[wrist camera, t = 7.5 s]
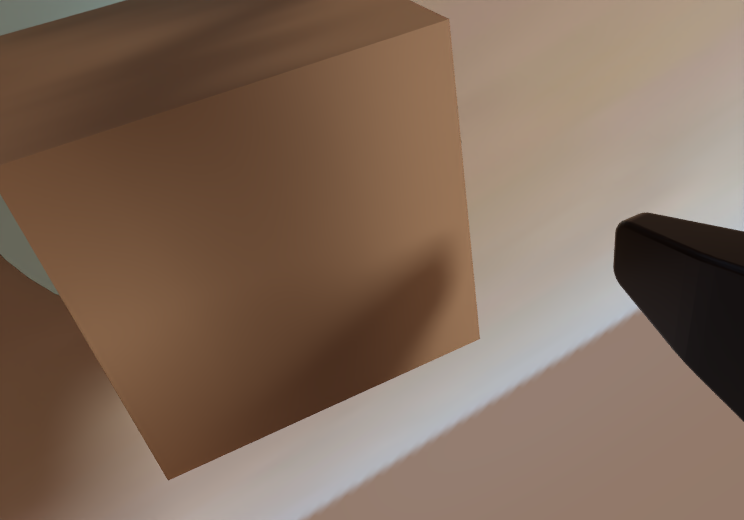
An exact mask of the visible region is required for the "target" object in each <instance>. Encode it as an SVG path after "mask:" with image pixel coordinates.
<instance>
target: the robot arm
mask: <svg viewBox="0 0 744 520" xmlns="http://www.w3.org/2000/svg"><path fill="white" fill-rule="evenodd" d="M613 267H614V274H615V276H616V279H617V281H618V282H619V284H620V285H621V287H622V288H623V289H624V290H625V292H626V293H627V294H628V295H629V296H630V298H631V299H632V300H633V301H634V302H635V304H636V305H637V306H638V307H639V309H640V310H641V311H642V312H643V313H644V315H645V316H646V317H647V318H648V320H649V321H650V322H651V323H652V324H653V326H654V327H655V328H656V329H657V330H658V332H659V333H660V334H661V335H662V337H663V338H664V339H665V340H666V341H667V343H668V344H669V345H670V346H671V348H672V349H673V350H674V351H675V352H676V353H677V354H678V356H680V358H681V359H682V360H683V361H684V362H685V363H686V365H687V366H689V368H690V369H691V370H692V371H693V372H694V373H695V374H696V375H697V376H698V377H699V378H700V379H701V380H702V381H703V382H704V383H705V384H706V385H707V386H708V387H709V388H710V389H711V390H712V391H713V392H714V393H715V394H716V395H717V396H718V397H719V398H720V399H721V400H722V401H723V402H724V403H725V404H727V406H728V407H729V408H731V410H733V412H735V413H736V415H738V416H739V417H740V418H741V419H742V420H743V421H744V231H738V230H733V229H728V228H723V227H718V226H713V225H708V224H703V223H698V222H693V221H688V220H683V219H678V218H673V217H668V216H663V215H658V214H652V213H640V214H638V215H635V216H633V217H631V218H628V219H626V220H624V221H622V222H621V223H619V224H618V226H617V228H616V232H615V248H614V265H613Z"/></svg>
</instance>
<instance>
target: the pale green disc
mask: <svg viewBox="0 0 744 520" xmlns="http://www.w3.org/2000/svg"><path fill="white" fill-rule="evenodd" d="M122 1H125V0H0V36H1V35H4V34H8V33H12V32H15V31H19V30H22V29H26V28H29V27H33V26H36V25H40V24H43V23H47V22H51V21H54V20H58V19H61V18H65V17H68V16H72V15H75V14H79V13H82V12H86V11H90V10H93V9H97V8H100V7H104V6H107V5H111V4H114V3H118V2H122ZM0 254H1V255H2V256H3V258H4V259H5V260H7V261H8V262H9V263H11V264H12V265H13V266H14V267H16V268H17V269H18V270H19V271H21V272H22V273H23V274H25V275H26V276H27V277H28V278H30V279H31V280H33V281H35V282H36V283H38V284H40V285H41V286H43V287H45V288H46V289H48V290H50V291H51V292H53V293H55V294H57V295H59V293H58V292H57V290H56V288H55V287H54V285H53V283H52V282H51V280H50V278H49V276H48V275H47V273H46V271H45V270H44V268H43V266H42V264H41V263H40V261H39V259H38V258H37V256H36V254H35V253H34V251H33V249H32V247H31V246H30V244H29V242H28V241H27V239H26V237H25V235H24V234H23V232H22V230H21V229H20V227H19V225H18V224H17V222H16V220H15V218H14V217H13V215H12V213H11V212H10V210H9V208H8V206H7V205H6V203H5V201H4V200H3V198H2V196H1V195H0ZM59 296H60V295H59Z"/></svg>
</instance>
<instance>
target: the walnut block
mask: <svg viewBox="0 0 744 520" xmlns="http://www.w3.org/2000/svg"><path fill="white" fill-rule="evenodd" d="M0 195H1V196H2V198H3V200H4V201H5V203H6V205H7V206H8V208H9V210H10V212H11V213H12V215H13V217H14V218H15V220H16V222H17V224H18V225H19V227H20V229H21V230H22V232H23V234H24V235H25V237H26V239H27V241H28V242H29V244H30V246H31V247H32V249H33V251H34V253H35V254H36V256H37V258H38V259H39V261H40V263H41V264H42V266H43V268H44V270H45V271H46V273H47V275H48V276H49V278H50V280H51V282H52V283H53V285H54V287H55V288H56V290H57V292H58V293H59V295H60V297H61V299H62V300H63V302H64V304H65V305H66V307H67V309H68V311H69V312H70V314H71V316H72V317H73V319H74V321H75V322H76V324H77V326H78V328H79V329H80V331H81V333H82V334H83V336H84V338H85V340H86V341H87V343H88V345H89V346H90V348H91V350H92V351H93V353H94V355H95V357H96V358H97V360H98V362H99V363H100V365H101V367H102V369H103V370H104V372H105V374H106V375H107V377H108V379H109V380H110V382H111V384H112V386H113V387H114V389H115V391H116V392H117V394H118V396H119V398H120V399H121V401H122V403H123V404H124V406H125V408H126V409H127V411H128V413H129V415H130V416H131V418H132V420H133V421H134V423H135V425H136V426H137V428H138V430H139V432H140V433H141V435H142V437H143V438H144V440H145V442H146V444H147V445H148V447H149V449H150V450H151V452H152V454H153V455H154V457H155V459H156V461H157V462H158V464H159V466H160V467H161V469H162V471H163V473H164V474H165V476H166V478H167V479H168V480H170V479H172V478H175V477H177V476H179V475H181V474H183V473H186V472H188V471H190V470H192V469H194V468H197V467H199V466H201V465H203V464H205V463H208V462H210V461H212V460H214V459H216V458H219V457H221V456H223V455H225V454H227V453H230V452H232V451H234V450H236V449H238V448H241V447H243V446H245V445H247V444H249V443H252V442H254V441H256V440H258V439H260V438H263V437H265V436H267V435H269V434H271V433H274V432H276V431H278V430H280V429H282V428H285V427H287V426H289V425H291V424H293V423H296V422H298V421H300V420H302V419H304V418H307V417H309V416H311V415H313V414H315V413H318V412H320V411H322V410H324V409H326V408H329V407H331V406H333V405H335V404H337V403H340V402H342V401H344V400H346V399H348V398H351V397H353V396H355V395H357V394H359V393H362V392H364V391H366V390H368V389H370V388H373V387H375V386H377V385H379V384H381V383H384V382H386V381H388V380H390V379H392V378H395V377H397V376H399V375H401V374H403V373H406V372H408V371H410V370H412V369H414V368H417V367H419V366H421V365H423V364H425V363H428V362H430V361H432V360H434V359H436V358H439V357H441V356H443V355H445V354H447V353H450V352H452V351H454V350H456V349H458V348H461V347H463V346H465V345H467V344H469V343H472V342H474V341H476V340H478V339H480V336H479V325H478V315H477V304H476V294H475V284H474V273H473V263H472V252H471V242H470V232H469V221H468V211H467V200H466V190H465V180H464V169H463V159H462V148H461V138H460V128H459V117H458V107H457V97H456V86H455V76H454V65H453V55H452V45H451V34H450V24H449V19H448V18H446V17H444V16H441V15H439V14H437V13H435V12H433V11H431V10H429V9H427V8H425V7H423V6H420V5H418V4H416V3H414V2H412V1H410V0H125V1H122V2H118V3H114V4H111V5H107V6H104V7H100V8H97V9H93V10H90V11H86V12H82V13H79V14H75V15H72V16H68V17H65V18H61V19H58V20H54V21H51V22H47V23H43V24H40V25H36V26H33V27H29V28H26V29H22V30H19V31H15V32H12V33H8V34H4V35H1V36H0Z"/></svg>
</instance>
